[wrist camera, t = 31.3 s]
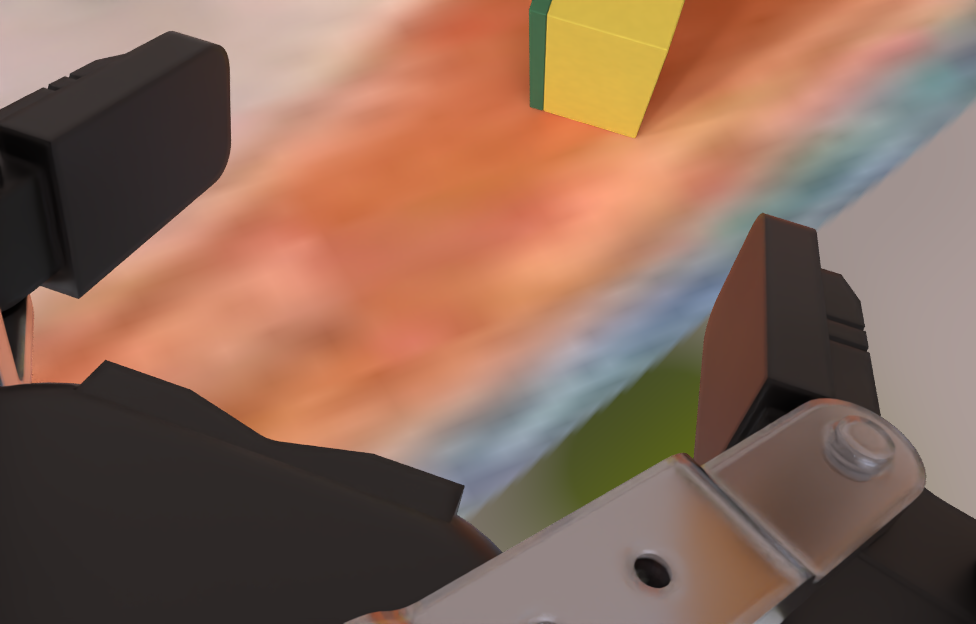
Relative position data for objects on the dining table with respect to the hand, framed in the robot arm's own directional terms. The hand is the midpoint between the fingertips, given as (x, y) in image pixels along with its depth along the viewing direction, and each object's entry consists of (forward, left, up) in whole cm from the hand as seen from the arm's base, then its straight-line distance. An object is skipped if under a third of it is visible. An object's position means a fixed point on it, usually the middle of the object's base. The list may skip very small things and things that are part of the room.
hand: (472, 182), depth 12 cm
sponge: (-6, +10, -20) cm, 23 cm away
